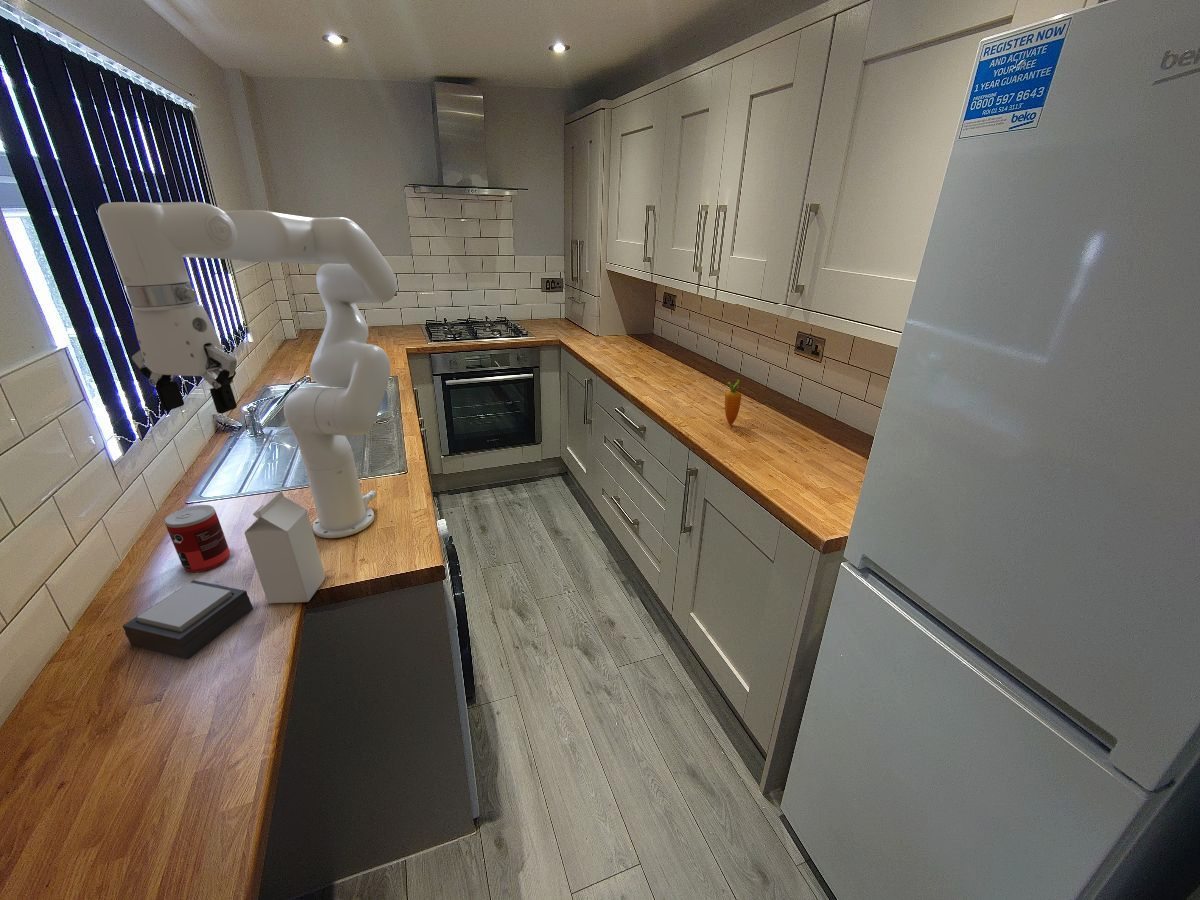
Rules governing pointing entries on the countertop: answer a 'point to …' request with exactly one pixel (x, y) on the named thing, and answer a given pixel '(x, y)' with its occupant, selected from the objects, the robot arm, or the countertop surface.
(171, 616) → the scale pan
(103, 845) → the countertop surface
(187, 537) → the canned food
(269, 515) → the milk carton
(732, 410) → the carrot
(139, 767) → the countertop surface
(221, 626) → the scale
